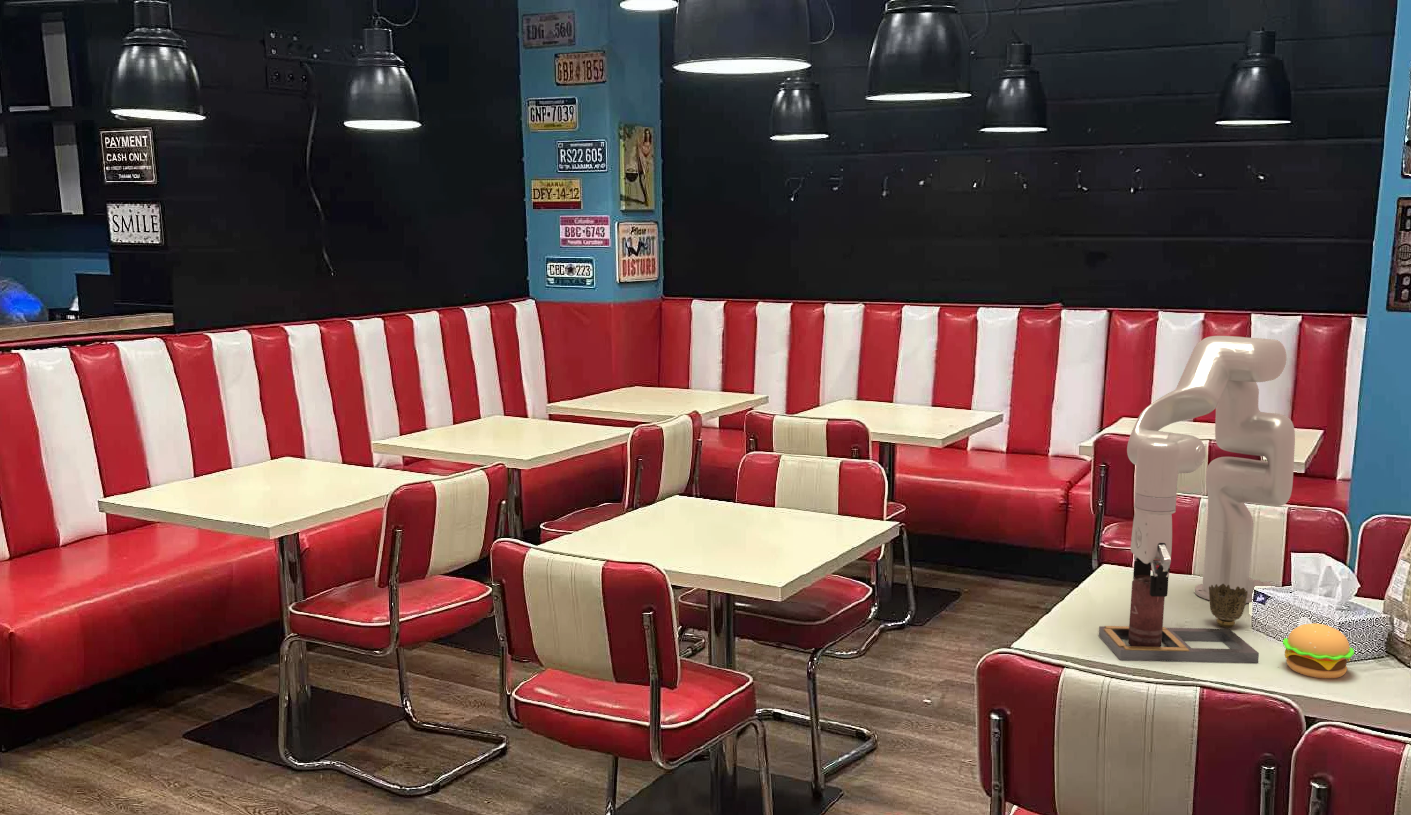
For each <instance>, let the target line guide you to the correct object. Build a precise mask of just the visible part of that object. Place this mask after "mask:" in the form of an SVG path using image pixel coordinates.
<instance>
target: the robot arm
mask: <svg viewBox="0 0 1411 815" xmlns="http://www.w3.org/2000/svg"><path fill="white" fill-rule="evenodd" d="M1286 364H1287V352H1286V348H1285V346H1284V344H1283V343H1282V341H1279V340H1278V339H1271V338H1261V337H1260V338H1259V337H1246V336H1245V337H1244V336H1232V335H1211V336H1207V337H1205V338H1203V339H1202V340H1200V341H1199V342H1198V343H1196V345H1195V346H1194V348H1193V349H1192V352H1191V354H1190V356H1189V358H1188V361H1187V363H1186V365H1185V368H1184V369H1183V372H1182V374H1181V376H1180V378H1179V381H1178V383H1177V386H1176V388H1175V389H1173V390H1172V391H1169V392H1168V393H1166V394H1164V395H1162V396H1160V397H1159V398H1158V399H1156V400H1154V401H1153V402H1152V403H1151V404H1149V405H1148V406H1146V407H1145V408H1144V409H1143V410H1142V412H1140V414H1139V416H1138V417H1137V419H1136V421H1135V424H1134V425H1133V426H1134V427H1133V428H1132V431H1131V432H1130V435H1129V438H1128V442H1127V447H1126V453H1127V454H1126V455H1127V457H1128V459H1129V461H1130V462H1131V463H1132V464H1133V465H1135V466H1136V468H1135V469H1136V470H1135V471H1136V472H1135V489H1134V490H1135V491H1134V502H1133V503H1134V508H1133V509H1134V515H1133V520H1132V530H1131V538H1130V540H1131V541H1130V552H1131V553H1132V555H1133V559H1134V560H1133V561H1134V562H1133V574H1132V575H1133V576H1132V577H1133V578H1132V581H1133V580H1134V577H1135V576H1138V575H1151V579H1150V595H1151V596H1152V597H1167V596H1168V592H1169V591H1168V590H1169V577H1170V571H1171V567H1170V566H1171V563H1172V559H1171V558H1172V547H1173V517H1172V514H1175V513H1176V512H1177V511H1176V510H1177V509H1176V508H1177V494H1178V493H1177V492H1178V491H1177V490H1178V476H1179V474H1190V473H1194V472H1196V471H1197V470H1198V469H1199V468H1201V466H1202V465H1203V463H1204V462H1205V458H1206V447H1205V445H1204V442H1203V441H1202V440H1201V439H1200V438H1199V437H1196V436H1195V435H1190V434H1187V433H1185V434H1184V433H1176V432H1171V431H1163V430H1162V429H1163V428H1165V427H1167V426H1169V425H1171V424H1175V423H1178V422H1183V421H1187V420H1191V419H1195V418H1199V417H1202V416H1205V415H1208V414H1210V413H1212V412H1213V411H1214V410H1215V422H1214V423H1215V426H1214V428H1215V429H1214V435H1215V436H1214V437H1215V438H1214V439H1215V443H1216V445H1217V447H1218V448H1219V449H1221V450H1223V451H1226V452H1230V453H1236V454H1242V455H1250V456H1258V457H1259V456H1261V457H1263V458H1266V460H1258V459H1251V458H1244V457H1236V456H1235V457H1234V456H1221V457H1220V456H1219V457H1217V458H1215V459H1213V460H1211V461H1210V463H1209V464H1208V465H1207V468H1206V471H1205V482H1206V483H1205V484H1206V493H1207V520H1206V534H1205V546H1204V548H1205V549H1204V557H1203V558H1204V559H1203V572H1202V583H1200V584H1197V585H1195V587H1194V594H1195V595H1197V596H1198V597H1200V598H1202V599H1205V600H1207V601H1210V600H1209V586H1210V587H1211V585H1213V587H1215V585H1216V584H1217V586H1218V587H1219V586H1220V585H1221V584H1225V585H1226V587H1227V585H1230V588H1231V589H1235V590H1236V587H1237V586H1238V587H1240V589H1241V588H1244V589H1245V590H1246V591H1247V592H1248V594H1247V599H1246V604H1250V603H1253V602H1252V600H1253V599H1252V593H1253V592H1254V591H1253V590H1254V587H1255V586H1271V587H1272V583H1271V581H1261V580H1260V579H1253V578H1251V577H1250V575H1251V574H1250V573H1251V572H1250V571H1251V562H1252V561H1251V560H1252V548H1253V547H1252V546H1253V536H1254V519H1253V516H1252V514H1251V512H1250V510H1249V508H1248V507H1247V505H1246V503H1249V504H1255V505H1262V506H1269V507H1282V506H1285V505H1286V504H1287V503H1288V502H1289V501H1290V499H1291V497H1292V491H1293V485H1294V484H1293V483H1294V466H1295V448H1296V446H1295V445H1296V444H1295V443H1296V431H1295V427H1294V423H1293V421H1292V419H1290V418H1289V417H1288V416H1286V415H1285V414H1284V415H1283V414H1280V413H1276V412H1275V413H1274V412H1265V411H1261V410H1260V408H1259V400H1260V397H1259V394H1260V389H1259V386H1258V384H1257V383H1265V382H1269V381H1274V380H1276V379H1277V378H1278V377H1281V374H1282V373H1283V372H1284V370H1285V367H1286ZM1161 430H1162V431H1161ZM1157 566H1158V567H1157ZM1151 572H1152V574H1151Z"/></svg>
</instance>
